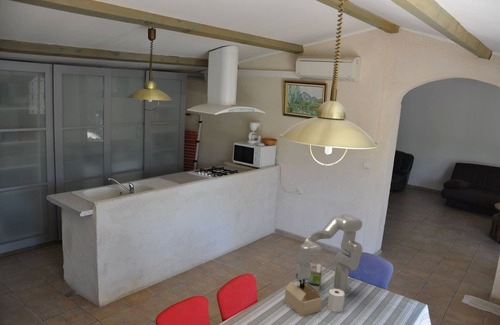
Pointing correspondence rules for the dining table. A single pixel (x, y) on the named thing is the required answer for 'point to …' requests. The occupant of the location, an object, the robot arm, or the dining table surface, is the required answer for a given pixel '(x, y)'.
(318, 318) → the dining table surface
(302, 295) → the flap
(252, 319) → the dining table surface
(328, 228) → the robot arm
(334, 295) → the toilet paper
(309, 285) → the flap
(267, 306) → the dining table surface
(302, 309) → the carton
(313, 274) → the tea box
